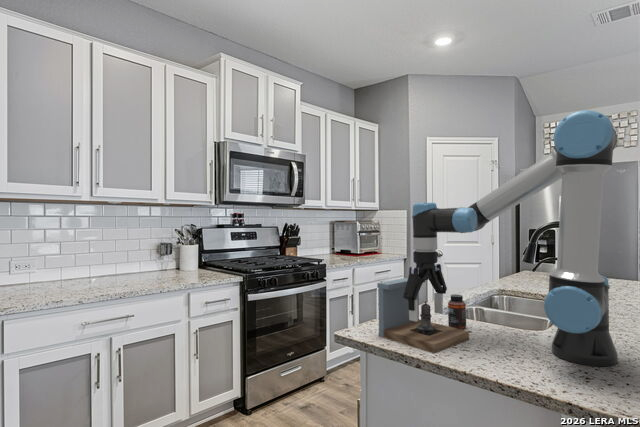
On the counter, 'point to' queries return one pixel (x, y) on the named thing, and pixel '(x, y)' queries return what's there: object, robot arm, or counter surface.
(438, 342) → the socket block
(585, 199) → the robot arm
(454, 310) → the supplement bottle
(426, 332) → the dark grey chess piece
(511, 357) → the counter surface
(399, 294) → the grey upright panel
